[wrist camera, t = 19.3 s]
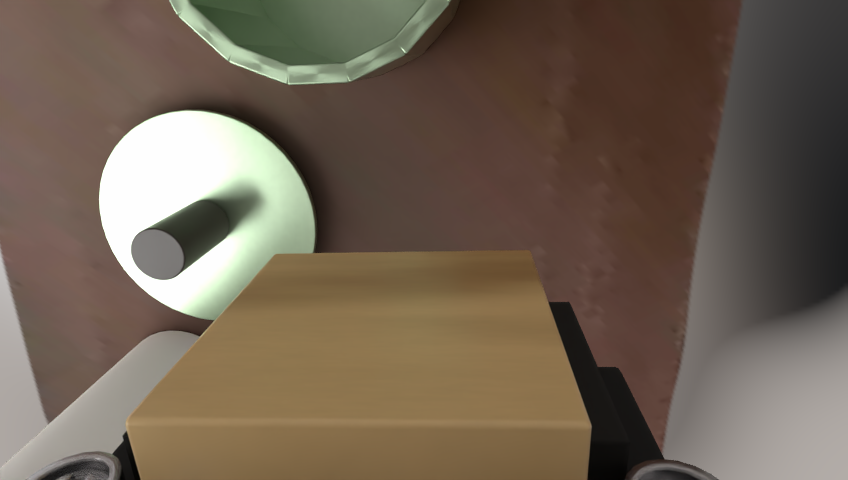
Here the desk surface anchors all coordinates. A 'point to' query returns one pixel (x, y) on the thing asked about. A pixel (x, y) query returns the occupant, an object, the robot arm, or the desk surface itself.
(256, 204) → the lid
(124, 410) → the cylindrical container
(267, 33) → the tin
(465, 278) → the block
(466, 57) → the desk surface
